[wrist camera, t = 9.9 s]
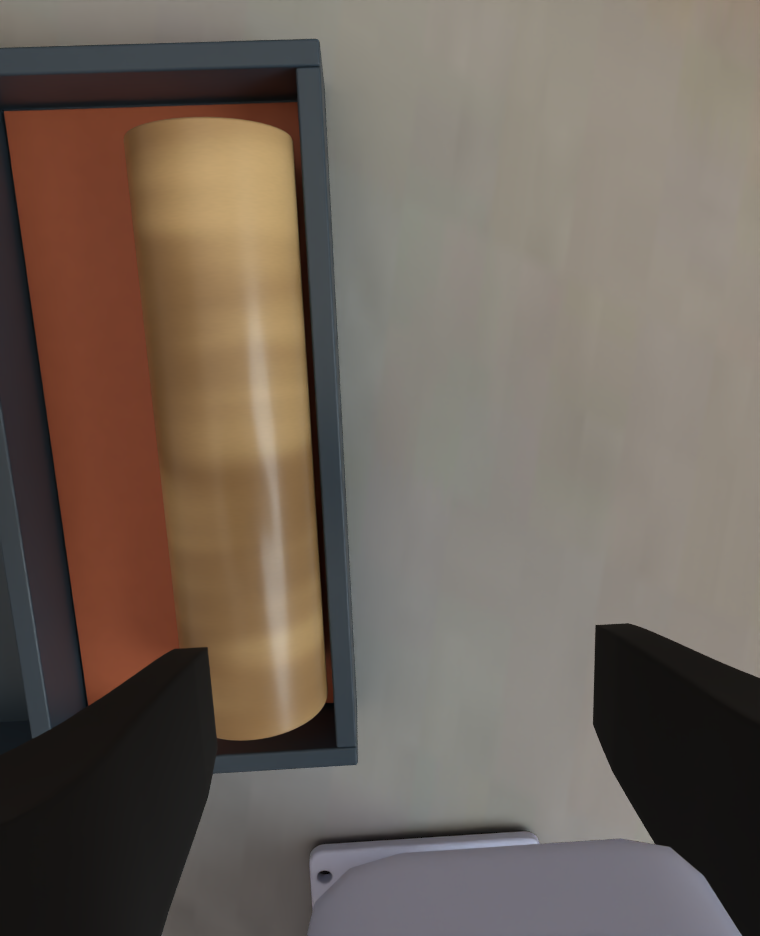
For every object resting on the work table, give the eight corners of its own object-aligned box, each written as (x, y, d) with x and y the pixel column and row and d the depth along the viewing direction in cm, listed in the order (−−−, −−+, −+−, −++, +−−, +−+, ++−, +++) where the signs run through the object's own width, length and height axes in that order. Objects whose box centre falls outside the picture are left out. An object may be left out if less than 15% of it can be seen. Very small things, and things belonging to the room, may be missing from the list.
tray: (356, 709, 23) (358, 765, 20) (-189, 741, 22) (-269, 804, 20) (323, 81, 19) (319, 37, 16) (-340, 101, 19) (-470, 59, 16)
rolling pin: (255, 655, 23) (355, 686, 20) (156, 714, 19) (261, 759, 17) (213, 166, 19) (325, 141, 17) (87, 139, 16) (205, 103, 14)
